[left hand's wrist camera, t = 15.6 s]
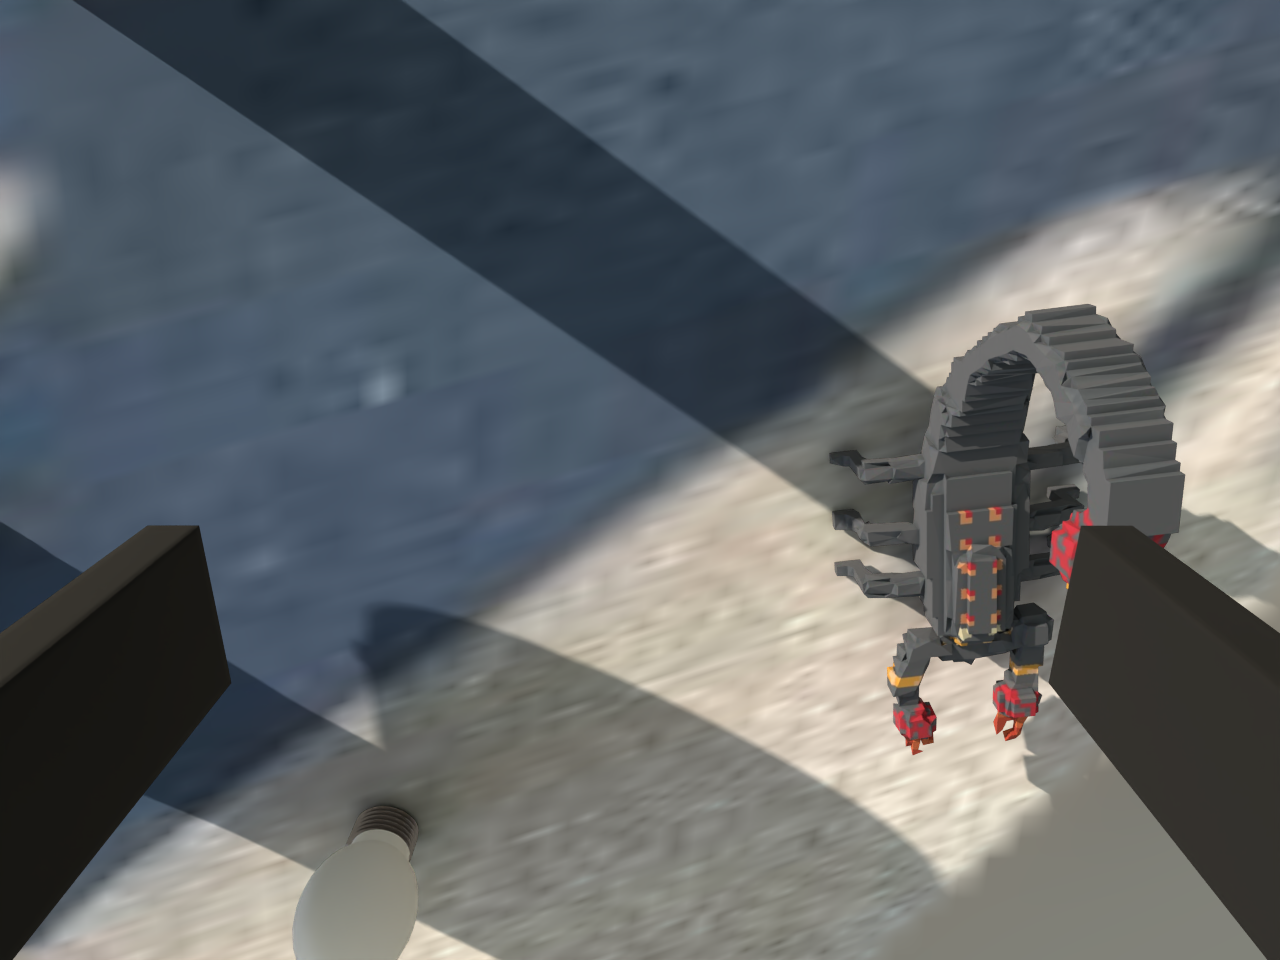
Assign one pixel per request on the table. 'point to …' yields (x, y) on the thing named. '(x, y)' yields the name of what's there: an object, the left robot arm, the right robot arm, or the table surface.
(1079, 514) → the toy
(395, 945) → the light bulb
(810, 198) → the table surface
